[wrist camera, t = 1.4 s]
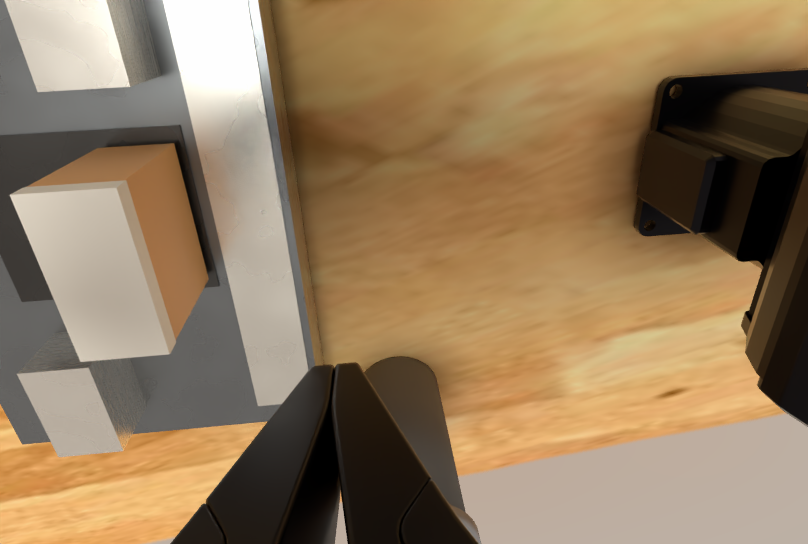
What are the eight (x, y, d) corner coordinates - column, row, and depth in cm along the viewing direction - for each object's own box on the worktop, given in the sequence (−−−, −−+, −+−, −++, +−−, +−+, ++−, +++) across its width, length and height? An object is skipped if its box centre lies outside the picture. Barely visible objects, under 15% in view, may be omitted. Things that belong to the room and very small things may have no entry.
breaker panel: (251, -130, 16) (209, -184, 11) (326, 379, 25) (319, 459, 21) (-197, -115, 15) (-428, -166, 11) (52, 404, 24) (-15, 493, 20)
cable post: (442, 347, 25) (484, 509, 17) (443, 418, 27) (480, 592, 19) (347, 355, 24) (344, 524, 16) (356, 427, 27) (356, 606, 19)
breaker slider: (175, 143, 16) (116, 187, 12) (209, 279, 19) (169, 354, 15) (96, 148, 16) (9, 194, 12) (140, 284, 19) (80, 362, 14)
